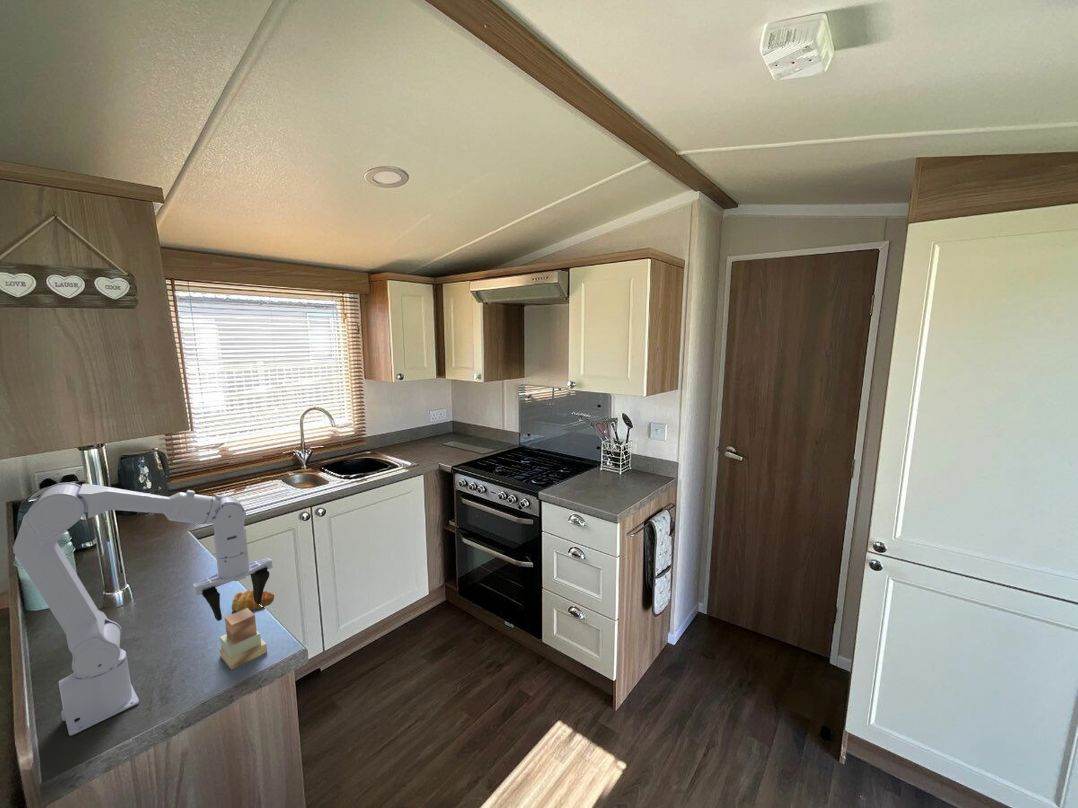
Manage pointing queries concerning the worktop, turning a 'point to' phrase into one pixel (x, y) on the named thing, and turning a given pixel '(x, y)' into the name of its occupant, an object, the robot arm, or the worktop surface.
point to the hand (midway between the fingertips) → (238, 610)
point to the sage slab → (239, 644)
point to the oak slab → (243, 655)
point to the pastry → (250, 601)
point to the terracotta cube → (240, 625)
